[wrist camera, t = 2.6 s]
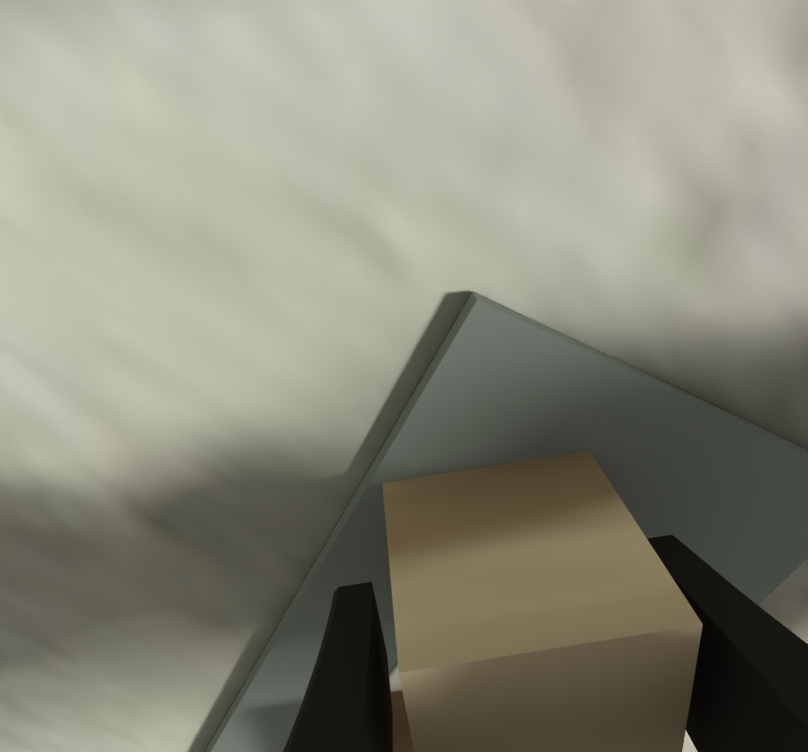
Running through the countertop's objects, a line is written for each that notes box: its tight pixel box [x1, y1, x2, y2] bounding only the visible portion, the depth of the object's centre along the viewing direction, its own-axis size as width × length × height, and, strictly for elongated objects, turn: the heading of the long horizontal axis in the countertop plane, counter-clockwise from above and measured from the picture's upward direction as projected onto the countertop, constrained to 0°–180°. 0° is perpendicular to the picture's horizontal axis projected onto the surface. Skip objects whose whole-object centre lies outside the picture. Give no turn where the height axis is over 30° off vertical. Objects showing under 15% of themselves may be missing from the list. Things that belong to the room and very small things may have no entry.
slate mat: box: [205, 291, 808, 752], centre depth 14 cm, size 15×11×1 cm
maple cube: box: [382, 451, 703, 752], centre depth 10 cm, size 4×4×4 cm
